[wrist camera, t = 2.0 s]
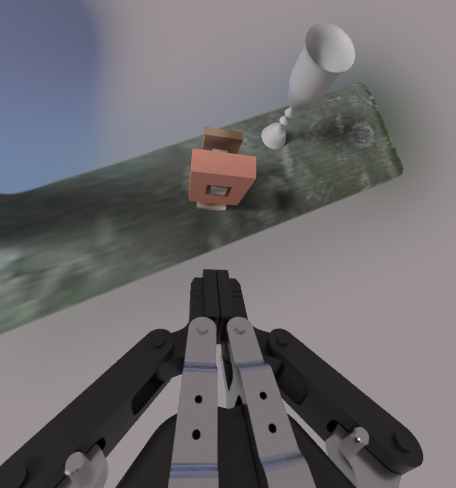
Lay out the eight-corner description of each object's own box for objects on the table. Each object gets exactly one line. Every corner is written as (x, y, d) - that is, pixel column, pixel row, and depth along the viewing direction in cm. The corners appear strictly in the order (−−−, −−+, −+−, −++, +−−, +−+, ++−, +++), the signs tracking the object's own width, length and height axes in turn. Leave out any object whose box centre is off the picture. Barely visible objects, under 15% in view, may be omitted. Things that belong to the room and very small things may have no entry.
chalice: (264, 115, 46) (315, 13, 29) (294, 130, 47) (360, 40, 30) (251, 144, 45) (297, 54, 27) (283, 160, 45) (346, 82, 28)
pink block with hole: (188, 201, 37) (191, 171, 27) (189, 183, 38) (192, 148, 28) (237, 205, 39) (256, 178, 29) (237, 188, 39) (256, 156, 29)
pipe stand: (196, 208, 40) (203, 177, 29) (198, 171, 41) (205, 126, 30) (224, 210, 41) (242, 181, 30) (225, 174, 42) (242, 132, 31)
